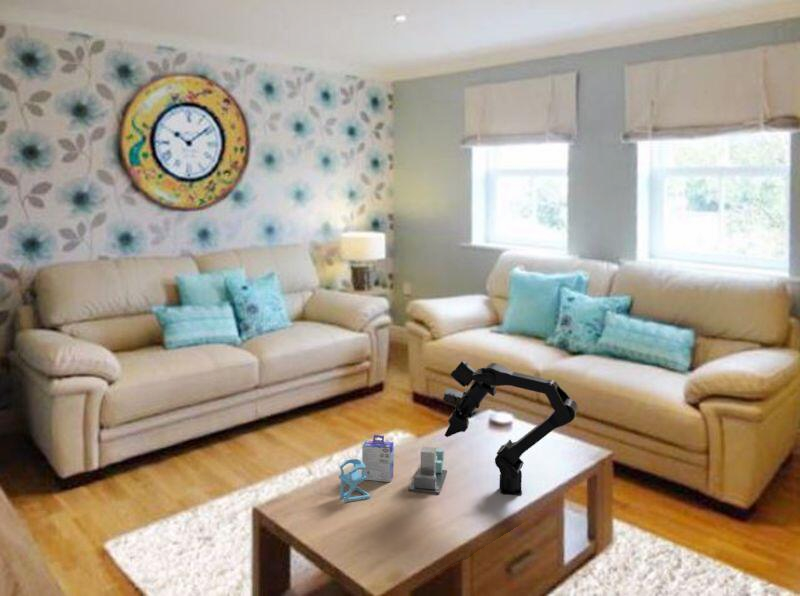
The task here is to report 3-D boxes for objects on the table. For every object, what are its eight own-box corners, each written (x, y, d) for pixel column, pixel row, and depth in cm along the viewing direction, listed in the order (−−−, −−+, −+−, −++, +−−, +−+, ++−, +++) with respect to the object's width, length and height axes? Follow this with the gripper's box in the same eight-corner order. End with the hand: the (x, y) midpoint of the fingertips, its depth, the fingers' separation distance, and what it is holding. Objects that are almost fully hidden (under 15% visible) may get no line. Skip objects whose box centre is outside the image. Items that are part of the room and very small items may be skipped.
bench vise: (418, 469, 225) (418, 457, 225) (447, 472, 223) (447, 459, 222) (408, 491, 210) (408, 477, 209) (439, 494, 208) (439, 481, 207)
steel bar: (435, 476, 218) (436, 447, 216) (433, 482, 214) (434, 452, 212) (423, 475, 219) (423, 446, 217) (420, 481, 215) (420, 451, 213)
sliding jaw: (427, 457, 233) (427, 448, 232) (446, 459, 231) (446, 449, 230) (421, 471, 222) (421, 461, 221) (441, 473, 221) (441, 463, 220)
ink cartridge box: (394, 475, 221) (394, 435, 219) (390, 482, 216) (390, 441, 213) (366, 472, 223) (365, 432, 221) (362, 480, 218) (361, 439, 215)
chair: (335, 496, 207) (334, 461, 205) (357, 488, 212) (356, 454, 210) (348, 505, 201) (347, 469, 199) (370, 497, 206) (370, 462, 204)
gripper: (458, 370, 219) (433, 403, 225) (449, 393, 202) (422, 428, 207) (486, 389, 219) (460, 421, 224) (479, 414, 201) (451, 448, 207)
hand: (448, 429), depth 216 cm, fingers open, 9 cm apart
